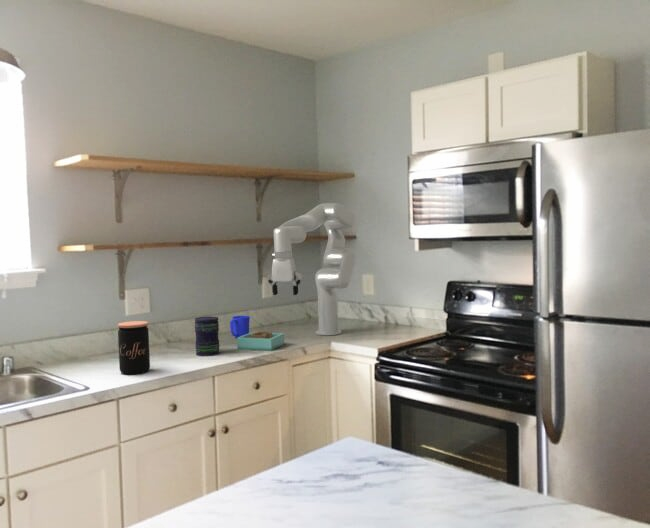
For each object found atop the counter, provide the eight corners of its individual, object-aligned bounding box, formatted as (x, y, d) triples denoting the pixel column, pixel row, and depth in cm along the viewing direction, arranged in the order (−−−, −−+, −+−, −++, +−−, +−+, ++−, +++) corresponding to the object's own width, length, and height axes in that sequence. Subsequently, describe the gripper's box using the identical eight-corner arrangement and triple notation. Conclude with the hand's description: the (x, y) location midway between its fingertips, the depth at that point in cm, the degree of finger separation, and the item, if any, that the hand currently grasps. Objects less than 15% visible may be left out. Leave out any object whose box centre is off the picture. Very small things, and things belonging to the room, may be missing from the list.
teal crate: (251, 343, 274) (251, 332, 273) (284, 344, 268) (284, 333, 268) (237, 349, 261) (236, 337, 260) (271, 350, 255) (271, 339, 255)
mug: (224, 339, 285) (223, 318, 284) (239, 335, 295) (238, 315, 295) (238, 341, 281) (238, 319, 280) (253, 336, 292) (252, 315, 291)
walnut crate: (259, 342, 270) (258, 331, 269) (272, 343, 268) (272, 331, 267) (250, 346, 261) (249, 334, 261) (263, 347, 259) (263, 335, 259)
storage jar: (192, 353, 255) (191, 318, 254) (214, 350, 260) (213, 315, 259) (200, 357, 246) (198, 320, 245) (223, 354, 251) (222, 318, 250)
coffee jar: (116, 375, 218) (113, 325, 217) (124, 369, 228) (122, 321, 227) (146, 374, 218) (144, 324, 217) (153, 368, 229) (151, 320, 228)
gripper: (261, 256, 265) (263, 295, 266) (298, 256, 258) (300, 296, 260) (269, 255, 271) (271, 293, 273) (305, 254, 265) (306, 293, 267)
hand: (285, 294), depth 266 cm, fingers open, 9 cm apart
